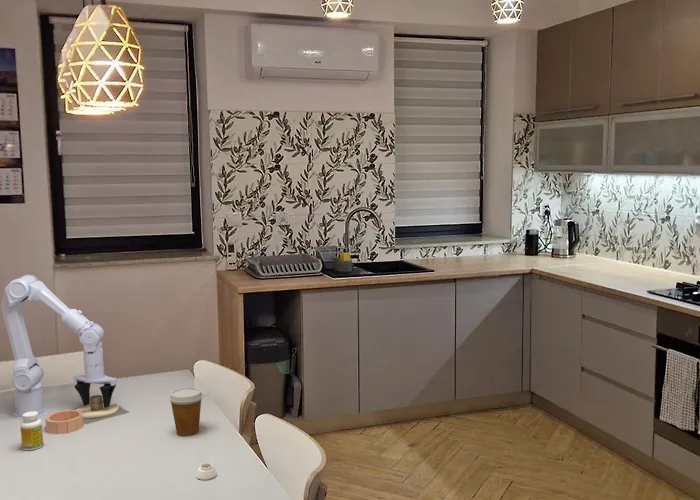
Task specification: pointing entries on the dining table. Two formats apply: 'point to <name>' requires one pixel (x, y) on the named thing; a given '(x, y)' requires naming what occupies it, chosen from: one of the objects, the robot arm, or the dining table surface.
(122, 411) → the mat
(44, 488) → the dining table surface
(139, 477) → the dining table surface
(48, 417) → the bowl
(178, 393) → the disposable coffee cup
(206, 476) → the white tapered round cap
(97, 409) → the lid
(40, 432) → the supplement bottle
